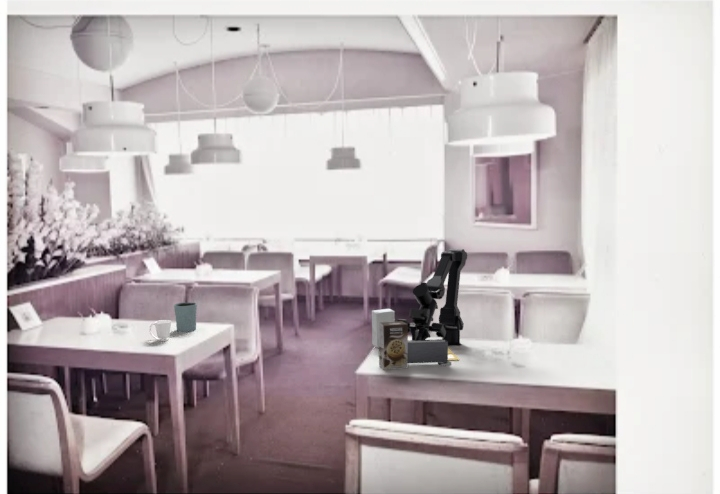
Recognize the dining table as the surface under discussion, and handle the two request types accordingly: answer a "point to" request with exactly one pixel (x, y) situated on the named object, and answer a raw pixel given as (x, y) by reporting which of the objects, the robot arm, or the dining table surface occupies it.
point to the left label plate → (452, 357)
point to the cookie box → (393, 345)
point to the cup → (162, 329)
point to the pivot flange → (444, 363)
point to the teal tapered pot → (185, 316)
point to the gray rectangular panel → (427, 351)
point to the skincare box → (378, 317)
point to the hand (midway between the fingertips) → (413, 347)
